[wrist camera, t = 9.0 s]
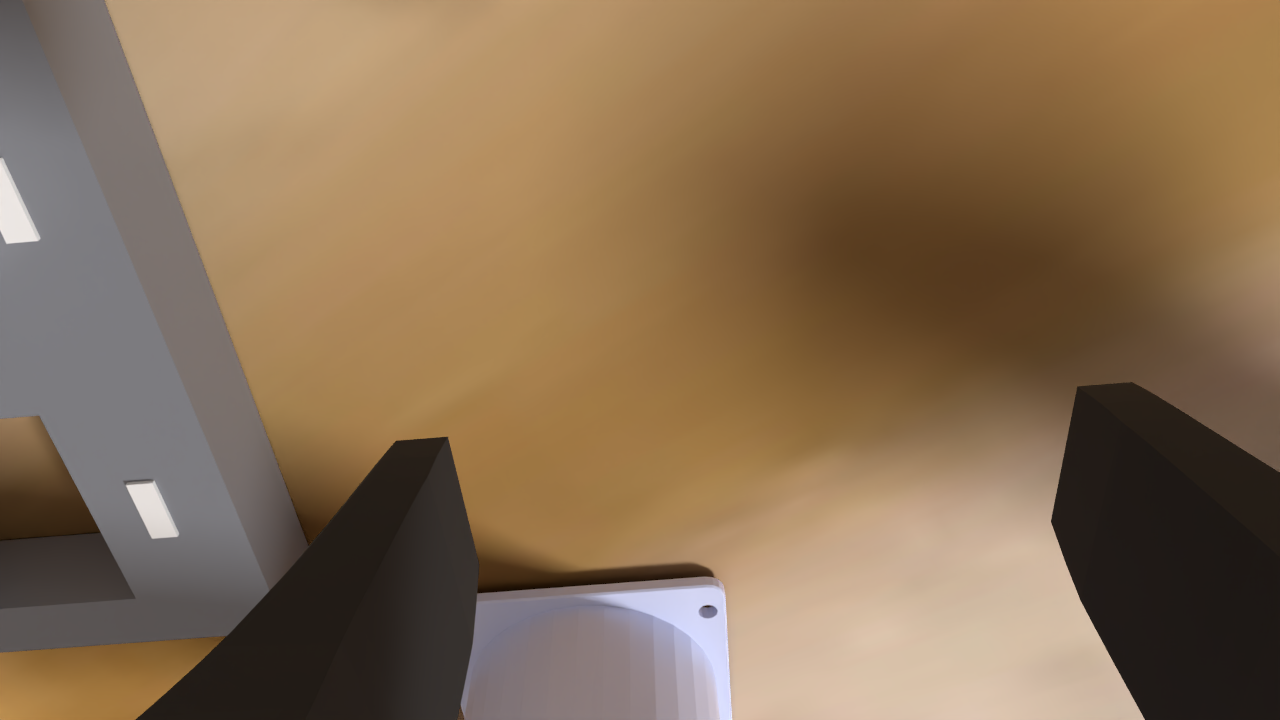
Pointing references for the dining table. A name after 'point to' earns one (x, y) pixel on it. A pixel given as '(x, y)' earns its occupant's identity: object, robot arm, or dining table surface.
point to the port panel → (120, 362)
